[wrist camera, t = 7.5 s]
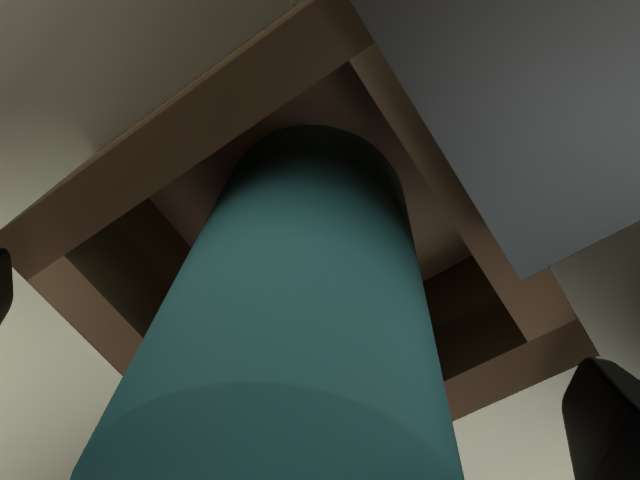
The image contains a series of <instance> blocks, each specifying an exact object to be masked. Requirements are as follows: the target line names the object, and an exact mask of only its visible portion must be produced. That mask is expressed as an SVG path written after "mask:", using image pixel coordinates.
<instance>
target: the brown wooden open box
mask: <svg viewBox="0 0 640 480" xmlns="http://www.w3.org/2000/svg"><path fill="white" fill-rule="evenodd" d="M300 125H325V126H332V127H336V128H340V129H344V130H346V131H349V132H351V133H354V134H356V135H358V136H360V137H361V138H363V139H365V140H367V141H368V142H369V143H371V144H372V145H373V146H374V147H376V148H377V149H378V150H379V151H380V152H381V153H382V154H383V155H384V156H385V157H386V158H387V160H388V161H389V162H390V164H391V165H392V166H393V168H394V170H395V172H396V174H397V175H398V177H399V180H400V183H401V185H402V188H403V193H404V197H405V202H406V206H407V211H408V216H409V221H410V225H411V230H412V235H413V239H414V244H415V249H416V254H417V258H418V263H419V268H420V272H421V277H422V282H423V287H424V291H425V296H426V301H427V306H428V310H429V315H430V320H431V324H432V329H433V334H434V339H435V343H436V348H437V353H438V358H439V362H440V367H441V372H442V376H443V381H444V386H445V391H446V395H447V400H448V405H449V410H450V414H451V419H452V421H454V420H457V419H459V418H461V417H463V416H466V415H468V414H470V413H472V412H475V411H477V410H479V409H481V408H483V407H486V406H488V405H490V404H492V403H495V402H497V401H499V400H501V399H504V398H506V397H508V396H510V395H513V394H515V393H517V392H519V391H521V390H524V389H526V388H528V387H530V386H533V385H535V384H537V383H539V382H542V381H544V380H546V379H548V378H551V377H553V376H555V375H557V374H559V373H562V372H564V371H566V370H568V369H571V368H573V367H575V366H577V365H579V363H580V362H581V361H582V360H583V359H584V358H587V357H593V358H595V357H597V356H600V355H599V353H598V352H597V350H596V348H595V346H594V345H593V343H592V341H591V340H590V338H589V336H588V334H587V333H586V331H585V329H584V328H583V326H582V324H581V322H580V321H579V319H578V317H577V315H576V314H575V312H574V310H573V309H572V307H571V305H570V303H569V302H568V300H567V298H566V297H565V295H564V293H563V291H562V290H561V288H560V286H559V285H558V283H557V281H556V279H555V278H554V276H553V274H552V273H551V271H550V269H549V266H551V265H553V264H555V263H557V262H559V261H561V260H563V259H565V258H567V257H569V256H570V255H572V254H574V253H576V252H578V251H580V250H582V249H584V248H586V247H588V246H590V245H592V244H594V243H596V242H598V241H600V240H602V239H604V238H606V237H608V236H610V235H612V234H614V233H616V232H618V231H620V230H622V229H624V228H626V227H628V226H630V225H632V224H634V223H636V222H638V221H640V0H303V1H301V2H300V3H299V4H297V5H296V6H295V7H293V8H292V9H291V10H289V11H288V12H287V13H285V14H284V15H282V16H281V17H280V18H278V19H277V20H276V21H274V22H273V23H272V24H270V25H269V26H268V27H266V28H265V29H263V30H262V31H261V32H259V33H258V34H257V35H255V36H254V37H253V38H251V39H250V40H249V41H247V42H246V43H245V44H243V45H242V46H240V47H239V48H238V49H236V50H235V51H234V52H232V53H231V54H230V55H228V56H227V57H226V58H224V59H223V60H222V61H220V62H219V63H217V64H216V65H215V66H213V67H212V68H211V69H209V70H208V71H207V72H205V73H204V74H203V75H201V76H200V77H199V78H197V79H196V80H194V81H193V82H192V83H190V84H189V85H188V86H186V87H185V88H184V89H182V90H181V91H180V92H178V93H177V94H175V95H174V96H173V97H171V98H170V99H169V100H167V101H166V102H165V103H163V104H162V105H161V106H159V107H158V108H157V109H155V110H154V111H152V112H151V113H150V114H148V115H147V116H146V117H144V118H143V119H142V120H140V121H139V122H138V123H136V124H135V125H134V126H132V127H131V128H129V129H128V130H127V131H125V132H124V133H123V134H121V135H120V136H119V137H117V138H116V139H115V140H113V141H112V142H111V143H109V144H108V145H106V146H105V147H104V148H102V149H101V150H100V151H98V152H97V153H96V154H94V155H93V156H92V157H90V158H89V159H88V160H87V161H85V162H84V163H83V164H82V165H80V166H79V167H78V168H77V169H76V170H74V171H73V172H72V173H71V174H69V175H68V176H67V177H66V178H64V179H63V180H62V181H61V182H59V183H58V184H57V185H56V186H54V187H53V188H52V189H51V190H49V191H48V192H47V193H46V194H44V195H43V196H42V197H41V198H39V199H38V200H37V201H36V202H34V203H33V204H32V205H31V206H29V207H28V208H27V209H26V210H24V211H23V212H22V213H21V214H19V215H18V216H17V217H16V218H14V219H13V220H12V221H11V222H9V223H8V224H7V225H6V226H4V227H3V228H2V229H1V230H0V247H3V248H6V249H7V250H8V251H9V253H10V255H11V263H12V267H13V268H14V269H15V270H16V271H17V272H18V273H19V274H20V275H21V276H22V277H23V278H24V279H25V280H26V281H27V282H28V283H29V284H30V285H31V286H32V287H33V288H34V289H35V290H36V291H37V292H38V293H39V294H40V295H41V296H42V297H43V298H44V299H45V300H46V301H47V302H48V303H49V304H50V305H51V306H52V307H53V308H54V309H55V310H56V311H57V312H58V313H60V314H61V315H62V316H63V317H64V318H65V319H66V320H67V321H68V322H69V323H70V324H71V325H72V326H73V327H74V328H75V329H76V330H77V331H78V332H79V333H80V334H81V335H82V336H83V337H84V338H85V339H86V340H87V341H88V342H89V343H90V344H91V345H92V346H93V347H94V348H95V349H96V350H97V351H98V352H99V353H100V354H101V355H102V356H103V357H104V358H105V359H106V360H107V361H108V362H109V363H110V364H111V365H112V366H113V367H114V368H115V369H116V370H117V371H118V372H119V373H120V374H121V375H122V376H124V374H125V372H126V370H127V368H128V366H129V365H130V363H131V361H132V359H133V357H134V355H135V353H136V352H137V350H138V348H139V346H140V344H141V342H142V340H143V338H144V337H145V335H146V333H147V331H148V329H149V327H150V325H151V323H152V322H153V320H154V318H155V316H156V314H157V312H158V310H159V308H160V307H161V305H162V303H163V301H164V299H165V297H166V295H167V293H168V292H169V290H170V288H171V286H172V284H173V282H174V280H175V278H176V277H177V275H178V273H179V271H180V269H181V267H182V265H183V264H184V262H185V260H186V258H187V256H188V254H189V252H190V250H191V249H192V247H193V245H194V243H195V241H196V239H197V237H198V235H199V234H200V232H201V230H202V228H203V226H204V224H205V222H206V220H207V219H208V217H209V215H210V213H211V211H212V209H213V207H214V205H215V204H216V202H217V200H218V198H219V196H220V194H221V192H222V191H223V189H224V187H225V185H226V183H227V181H228V179H229V177H230V176H231V174H232V172H233V170H234V168H235V166H236V164H237V163H238V162H239V160H240V159H241V158H242V156H243V155H244V154H245V153H246V152H247V151H248V150H249V149H250V148H251V147H252V146H253V145H255V144H256V143H257V142H259V141H260V140H261V139H263V138H265V137H267V136H268V135H270V134H272V133H275V132H277V131H280V130H282V129H286V128H289V127H293V126H300Z"/></svg>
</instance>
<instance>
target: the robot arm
mask: <svg viewBox="0 0 640 480" xmlns="http://www.w3.org/2000/svg"><path fill="white" fill-rule="evenodd" d="M12 301H13V280H12V263H11V255H10V253H9V251H8V250H7V249H6V248H3V247H0V325H1V323H2V321H3V320H4V318H5V316H6V315H7V313H8V311H9V309H10V307H11V304H12ZM562 414H563V419H564V425H565V430H566V435H567V440H568V446H569V451H570V456H571V461H572V466H573V472H574V477H575V480H640V380H638V379H637V378H635V377H634V376H633V375H631V374H630V373H628V372H627V371H626V370H624V369H623V368H621V367H620V366H619V365H617V364H616V363H614V362H612V361H609V360H604V359H599V358H593V357H587V358H584V359H583V360H582V361H581V362H580V363H579V365H578V367H577V369H576V371H575V373H574V375H573V377H572V379H571V381H570V384H569V386H568V388H567V390H566V392H565V394H564V396H563V400H562Z"/></svg>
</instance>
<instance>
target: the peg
mask: <svg viewBox="0 0 640 480" xmlns="http://www.w3.org/2000/svg"><path fill="white" fill-rule="evenodd" d="M70 480H464V476H463V471H462V466H461V462H460V457H459V452H458V447H457V443H456V438H455V433H454V428H453V424H452V419H451V414H450V410H449V405H448V400H447V395H446V391H445V386H444V381H443V376H442V372H441V367H440V362H439V358H438V353H437V348H436V343H435V339H434V334H433V329H432V324H431V320H430V315H429V310H428V306H427V301H426V296H425V291H424V287H423V282H422V277H421V272H420V268H419V263H418V258H417V254H416V249H415V244H414V239H413V235H412V230H411V225H410V221H409V216H408V211H407V206H406V202H405V197H404V193H403V188H402V185H401V183H400V180H399V177H398V175H397V174H396V172H395V170H394V168H393V166H392V165H391V164H390V162H389V161H388V160H387V158H386V157H385V156H384V155H383V154H382V153H381V152H380V151H379V150H378V149H377V148H376V147H374V146H373V145H372V144H371V143H369V142H368V141H367V140H365V139H363V138H361V137H360V136H358V135H356V134H354V133H351V132H349V131H346V130H344V129H340V128H336V127H332V126H325V125H300V126H293V127H289V128H286V129H282V130H280V131H277V132H275V133H272V134H270V135H268V136H267V137H265V138H263V139H261V140H260V141H259V142H257V143H256V144H255V145H253V146H252V147H251V148H250V149H249V150H248V151H247V152H246V153H245V154H244V155H243V156H242V158H241V159H240V160H239V162H238V163H237V164H236V166H235V168H234V170H233V172H232V174H231V176H230V177H229V179H228V181H227V183H226V185H225V187H224V189H223V191H222V192H221V194H220V196H219V198H218V200H217V202H216V204H215V205H214V207H213V209H212V211H211V213H210V215H209V217H208V219H207V220H206V222H205V224H204V226H203V228H202V230H201V232H200V234H199V235H198V237H197V239H196V241H195V243H194V245H193V247H192V249H191V250H190V252H189V254H188V256H187V258H186V260H185V262H184V264H183V265H182V267H181V269H180V271H179V273H178V275H177V277H176V278H175V280H174V282H173V284H172V286H171V288H170V290H169V292H168V293H167V295H166V297H165V299H164V301H163V303H162V305H161V307H160V308H159V310H158V312H157V314H156V316H155V318H154V320H153V322H152V323H151V325H150V327H149V329H148V331H147V333H146V335H145V337H144V338H143V340H142V342H141V344H140V346H139V348H138V350H137V352H136V353H135V355H134V357H133V359H132V361H131V363H130V365H129V366H128V368H127V370H126V372H125V374H124V376H123V378H122V380H121V381H120V383H119V385H118V387H117V389H116V391H115V393H114V395H113V396H112V398H111V400H110V402H109V404H108V406H107V408H106V410H105V411H104V413H103V415H102V417H101V419H100V421H99V423H98V425H97V426H96V428H95V430H94V432H93V434H92V436H91V438H90V439H89V441H88V443H87V445H86V447H85V449H84V451H83V453H82V454H81V456H80V458H79V460H78V462H77V464H76V466H75V468H74V470H73V472H72V476H71V479H70Z"/></svg>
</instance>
